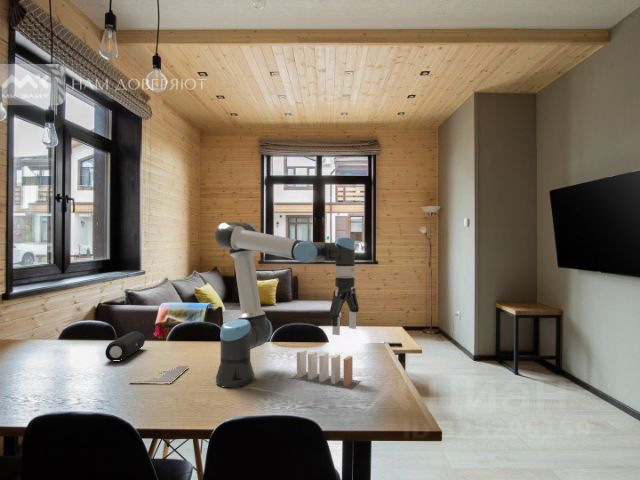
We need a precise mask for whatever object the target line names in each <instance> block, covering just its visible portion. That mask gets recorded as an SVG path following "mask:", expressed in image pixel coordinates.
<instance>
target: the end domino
mask: <svg viewBox="0 0 640 480" xmlns="http://www.w3.org/2000/svg"><path fill="white" fill-rule="evenodd" d="M353 377H354V376H353V356H352V355H348V356H346V357H345V358H343V378H344V386H348V385H350V384H351V383H352V382H353V380H354V378H353Z"/></svg>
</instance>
